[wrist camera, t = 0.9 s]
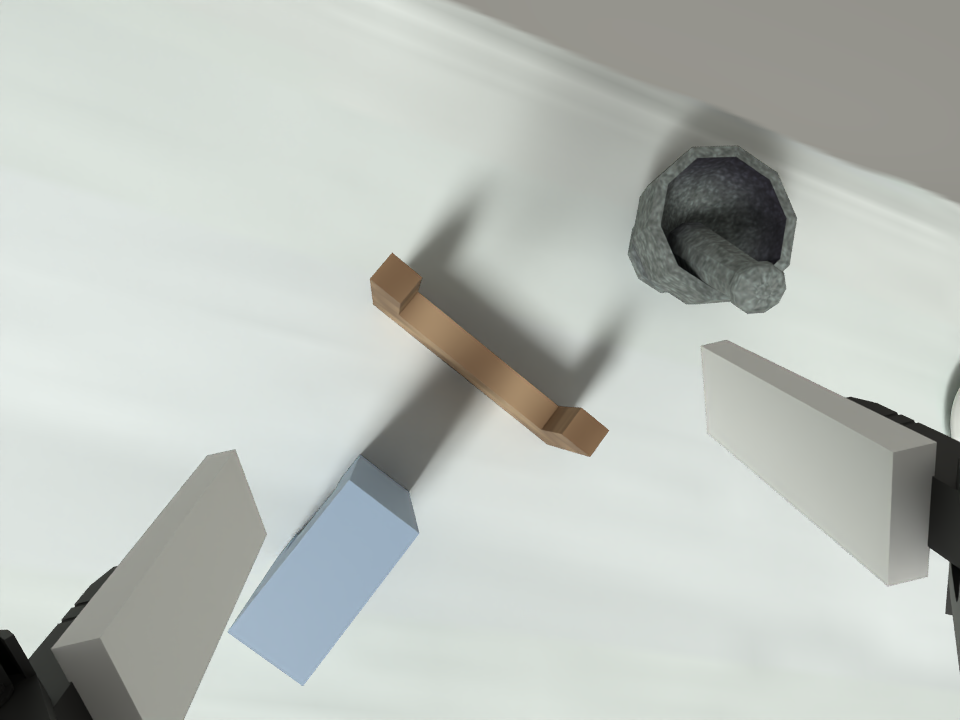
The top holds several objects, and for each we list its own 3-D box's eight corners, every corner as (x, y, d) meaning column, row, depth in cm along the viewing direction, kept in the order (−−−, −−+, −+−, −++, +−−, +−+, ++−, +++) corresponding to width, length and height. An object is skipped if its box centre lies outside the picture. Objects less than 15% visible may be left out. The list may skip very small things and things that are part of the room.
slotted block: (277, 557, 34) (227, 632, 24) (360, 454, 36) (349, 479, 25) (328, 595, 35) (302, 686, 24) (409, 492, 36) (419, 533, 25)
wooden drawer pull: (373, 304, 36) (370, 278, 28) (390, 283, 37) (392, 252, 29) (547, 444, 38) (590, 456, 30) (562, 423, 38) (609, 430, 30)
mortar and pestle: (620, 170, 40) (718, 75, 28) (736, 204, 41) (876, 127, 30) (591, 320, 39) (681, 287, 27) (711, 350, 40) (847, 330, 28)
